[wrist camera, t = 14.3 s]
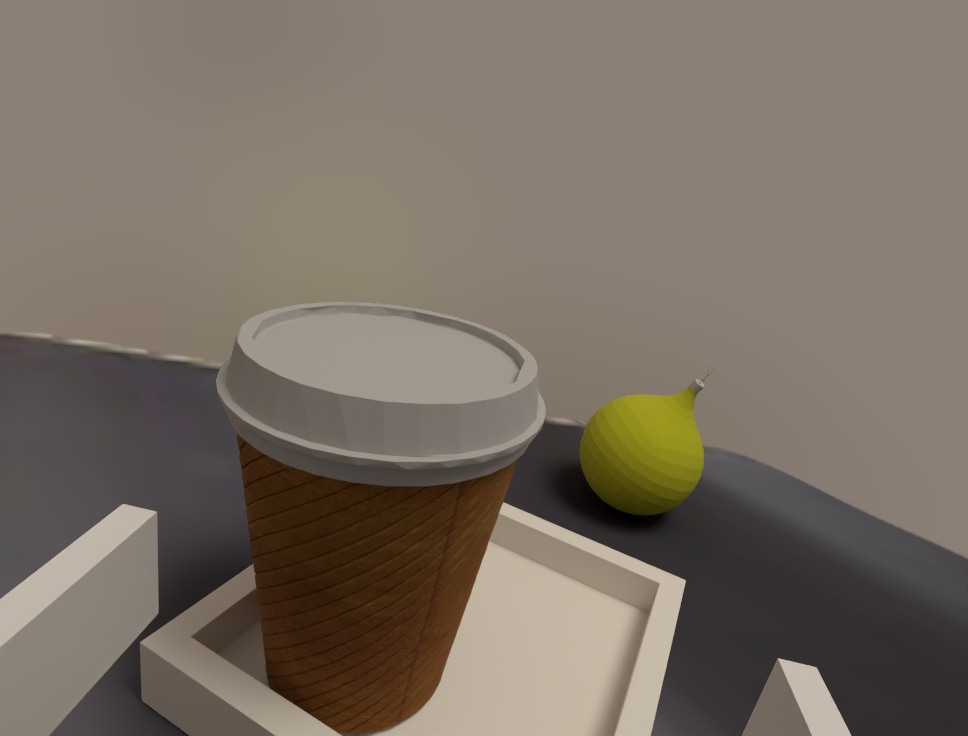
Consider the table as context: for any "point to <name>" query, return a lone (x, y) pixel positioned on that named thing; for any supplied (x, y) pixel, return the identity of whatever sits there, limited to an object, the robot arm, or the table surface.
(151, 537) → the robot arm
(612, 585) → the square tray
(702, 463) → the ornament
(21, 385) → the table surface
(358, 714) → the disposable coffee cup
